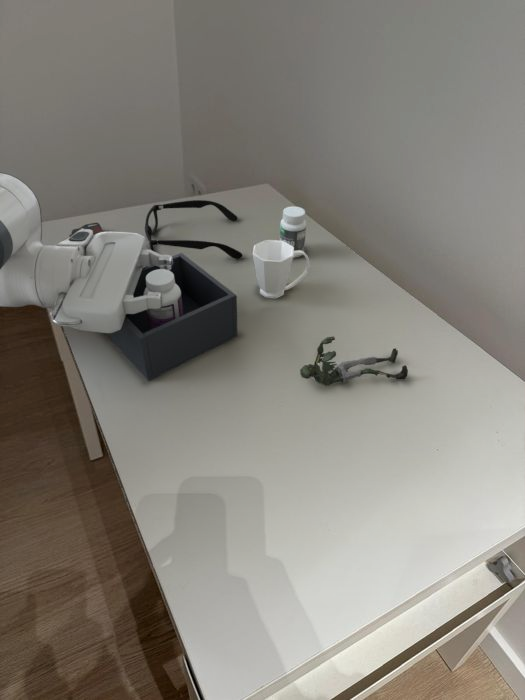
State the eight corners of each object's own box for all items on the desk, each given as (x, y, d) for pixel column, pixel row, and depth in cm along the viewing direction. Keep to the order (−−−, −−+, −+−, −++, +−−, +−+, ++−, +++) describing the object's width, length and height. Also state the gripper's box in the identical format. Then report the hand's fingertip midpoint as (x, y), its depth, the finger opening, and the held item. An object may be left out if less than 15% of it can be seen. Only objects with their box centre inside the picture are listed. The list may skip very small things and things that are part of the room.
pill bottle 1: (164, 314, 82) (157, 262, 75) (191, 325, 80) (186, 272, 73) (142, 332, 78) (132, 279, 72) (169, 345, 76) (162, 291, 70)
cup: (246, 283, 90) (246, 242, 84) (300, 274, 92) (303, 233, 87) (258, 306, 85) (259, 264, 79) (315, 296, 87) (319, 255, 82)
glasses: (151, 224, 106) (147, 202, 103) (237, 218, 107) (235, 195, 104) (146, 268, 94) (141, 244, 91) (243, 261, 95) (241, 236, 91)
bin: (148, 381, 72) (140, 338, 66) (100, 328, 80) (90, 287, 75) (237, 336, 79) (236, 295, 74) (185, 292, 87) (181, 252, 82)
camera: (75, 252, 91) (64, 226, 99) (80, 265, 93) (69, 239, 101) (110, 242, 93) (97, 217, 101) (114, 255, 95) (101, 230, 103)
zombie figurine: (416, 346, 68) (306, 363, 65) (405, 382, 72) (303, 398, 70) (399, 320, 72) (295, 335, 69) (391, 356, 76) (293, 370, 74)
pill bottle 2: (273, 251, 98) (275, 210, 92) (292, 243, 100) (294, 202, 94) (290, 261, 95) (293, 220, 89) (309, 253, 97) (312, 212, 92)
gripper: (37, 303, 63) (150, 307, 63) (84, 223, 78) (175, 226, 78) (50, 342, 67) (156, 345, 67) (92, 259, 82) (179, 261, 82)
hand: (167, 280), depth 73 cm, fingers open, 8 cm apart
